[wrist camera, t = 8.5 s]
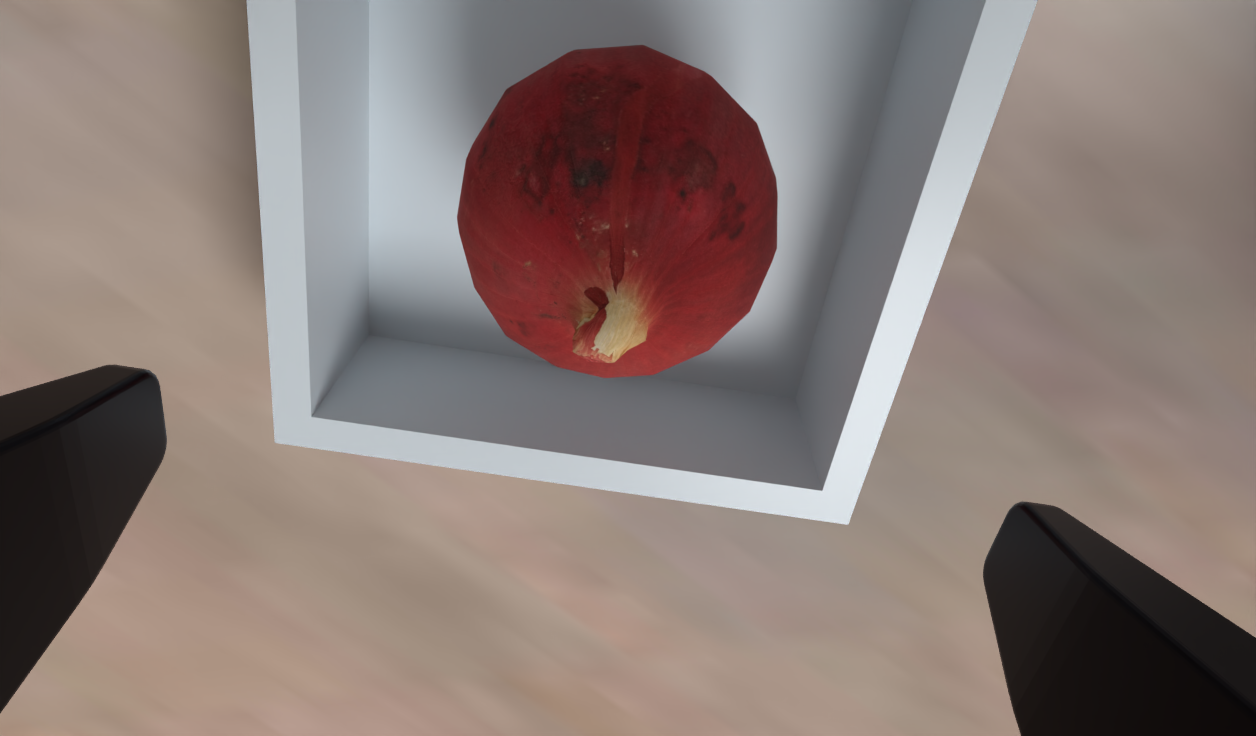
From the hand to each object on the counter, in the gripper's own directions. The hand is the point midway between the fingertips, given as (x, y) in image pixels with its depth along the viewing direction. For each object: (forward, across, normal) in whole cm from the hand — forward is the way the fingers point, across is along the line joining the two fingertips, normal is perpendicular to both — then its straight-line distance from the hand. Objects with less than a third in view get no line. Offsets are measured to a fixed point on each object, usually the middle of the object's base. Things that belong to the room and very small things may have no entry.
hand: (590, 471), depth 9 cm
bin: (+12, 0, 0) cm, 12 cm away
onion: (+11, 0, 0) cm, 11 cm away
